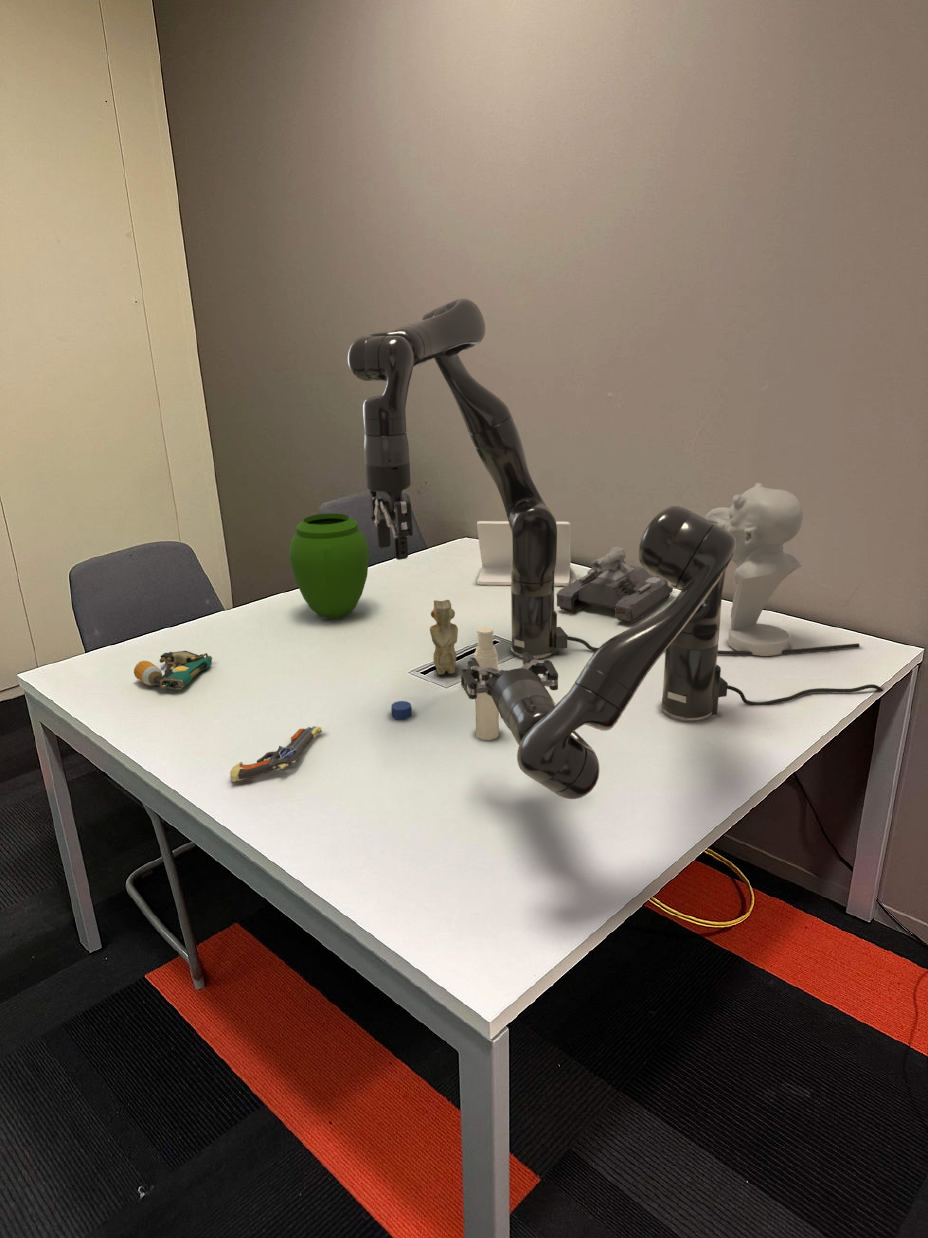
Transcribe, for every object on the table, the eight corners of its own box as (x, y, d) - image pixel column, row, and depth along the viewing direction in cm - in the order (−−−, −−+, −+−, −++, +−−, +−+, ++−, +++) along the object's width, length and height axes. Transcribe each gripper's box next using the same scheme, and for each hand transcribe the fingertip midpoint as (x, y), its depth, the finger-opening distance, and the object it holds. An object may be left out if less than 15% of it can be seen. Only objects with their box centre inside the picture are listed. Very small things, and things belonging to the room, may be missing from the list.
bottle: (480, 741, 151) (477, 635, 143) (473, 731, 154) (470, 627, 147) (502, 738, 152) (500, 632, 145) (494, 727, 155) (492, 624, 148)
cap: (412, 719, 159) (411, 709, 159) (392, 720, 159) (391, 710, 158) (411, 710, 163) (410, 700, 162) (391, 711, 163) (390, 701, 162)
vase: (389, 608, 216) (383, 514, 208) (339, 633, 201) (330, 533, 192) (330, 596, 226) (322, 506, 218) (278, 619, 211) (267, 523, 202)
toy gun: (224, 771, 138) (281, 769, 136) (271, 724, 156) (322, 721, 154) (228, 786, 139) (285, 784, 137) (273, 737, 157) (324, 735, 155)
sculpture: (458, 662, 183) (456, 596, 178) (460, 676, 176) (457, 608, 171) (431, 663, 183) (428, 597, 177) (431, 677, 176) (428, 609, 171)
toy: (603, 584, 229) (605, 530, 224) (673, 597, 218) (677, 540, 213) (555, 612, 210) (556, 553, 205) (630, 627, 199) (633, 566, 194)
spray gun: (177, 659, 191) (231, 671, 185) (120, 684, 176) (176, 698, 171) (176, 641, 190) (230, 653, 184) (118, 665, 175) (174, 678, 169)
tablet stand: (569, 585, 229) (570, 524, 223) (476, 584, 232) (475, 523, 226) (570, 566, 246) (571, 508, 240) (484, 564, 249) (483, 507, 243)
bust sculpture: (728, 615, 205) (741, 470, 193) (809, 647, 185) (829, 488, 173) (677, 628, 198) (686, 478, 186) (755, 663, 178) (772, 498, 166)
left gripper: (352, 456, 149) (359, 546, 154) (380, 469, 136) (386, 566, 142) (393, 452, 152) (398, 540, 157) (423, 464, 139) (428, 559, 145)
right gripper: (573, 675, 121) (541, 634, 136) (475, 685, 119) (453, 642, 133) (572, 722, 124) (541, 677, 139) (476, 733, 121) (455, 686, 136)
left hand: (392, 552), depth 150 cm, fingers open, 8 cm apart
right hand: (498, 660), depth 136 cm, fingers open, 8 cm apart
